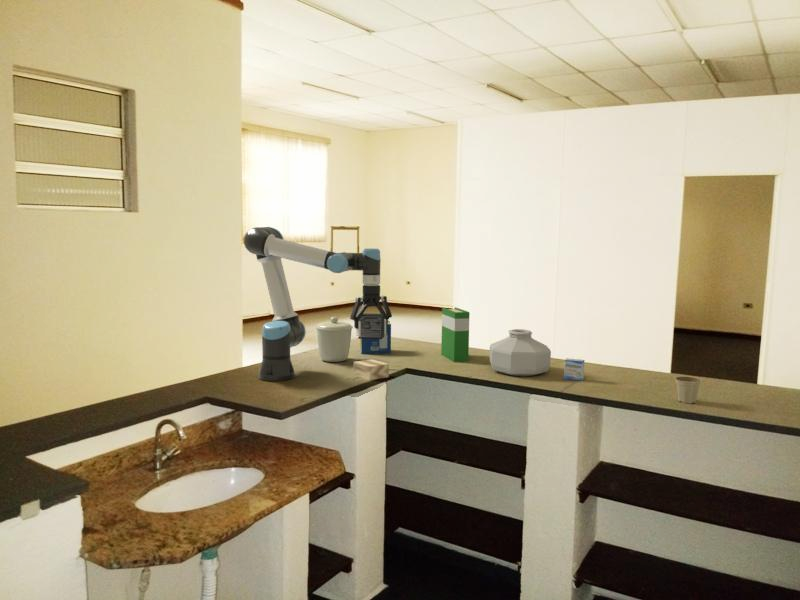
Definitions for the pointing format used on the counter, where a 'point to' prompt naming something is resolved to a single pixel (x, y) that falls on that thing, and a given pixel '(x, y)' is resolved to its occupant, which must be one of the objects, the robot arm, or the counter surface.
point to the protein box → (377, 344)
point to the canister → (334, 340)
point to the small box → (372, 326)
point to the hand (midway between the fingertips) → (371, 335)
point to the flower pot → (687, 388)
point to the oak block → (371, 369)
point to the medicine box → (574, 369)
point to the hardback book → (455, 334)
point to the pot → (520, 354)
